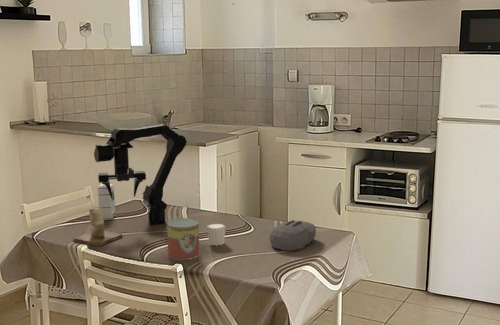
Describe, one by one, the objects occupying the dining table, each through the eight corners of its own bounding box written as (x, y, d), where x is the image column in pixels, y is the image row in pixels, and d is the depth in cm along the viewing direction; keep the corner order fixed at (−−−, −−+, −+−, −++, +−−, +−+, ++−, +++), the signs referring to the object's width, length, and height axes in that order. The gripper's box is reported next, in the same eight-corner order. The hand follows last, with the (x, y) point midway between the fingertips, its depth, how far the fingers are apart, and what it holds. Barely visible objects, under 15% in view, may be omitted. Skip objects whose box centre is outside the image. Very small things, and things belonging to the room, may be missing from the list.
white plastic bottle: (112, 218, 270) (111, 186, 268) (99, 218, 270) (97, 186, 268) (115, 215, 276) (114, 183, 273) (102, 215, 276) (100, 183, 273)
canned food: (174, 262, 216) (173, 228, 214) (163, 252, 226) (162, 220, 224) (204, 256, 221) (203, 224, 219) (192, 247, 231) (191, 216, 229)
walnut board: (97, 232, 251) (97, 229, 250) (122, 237, 244) (122, 234, 244) (73, 241, 240) (73, 238, 239) (99, 246, 233) (98, 243, 233)
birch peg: (106, 234, 244) (104, 207, 242) (101, 238, 239) (99, 210, 237) (94, 233, 245) (92, 206, 243) (89, 237, 240) (87, 210, 238)
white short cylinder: (228, 241, 238) (228, 224, 236) (221, 247, 231) (221, 229, 230) (211, 240, 240) (211, 222, 239) (204, 245, 233) (204, 227, 232)
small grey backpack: (286, 234, 247) (261, 248, 230) (286, 214, 245) (261, 226, 228) (321, 240, 239) (298, 255, 222) (321, 219, 238) (298, 233, 221)
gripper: (98, 164, 241) (100, 203, 244) (146, 161, 246) (148, 200, 249) (97, 159, 252) (99, 197, 255) (143, 157, 257) (145, 193, 260)
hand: (123, 197), depth 254 cm, fingers open, 9 cm apart
